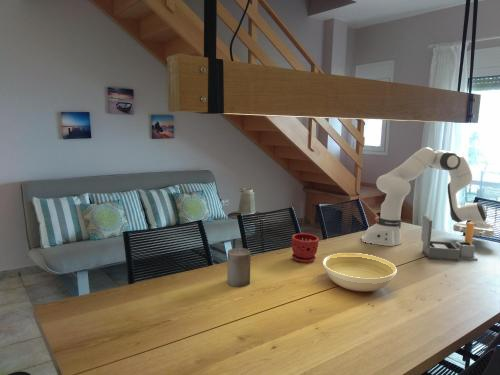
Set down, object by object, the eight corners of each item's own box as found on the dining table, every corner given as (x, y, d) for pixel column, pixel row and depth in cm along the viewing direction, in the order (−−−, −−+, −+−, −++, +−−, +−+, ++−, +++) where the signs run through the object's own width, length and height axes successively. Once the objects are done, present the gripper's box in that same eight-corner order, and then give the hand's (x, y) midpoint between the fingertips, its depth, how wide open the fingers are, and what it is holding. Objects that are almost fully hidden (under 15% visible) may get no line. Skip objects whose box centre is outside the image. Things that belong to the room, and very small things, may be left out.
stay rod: (464, 252, 208) (467, 223, 206) (462, 250, 212) (465, 222, 209) (472, 252, 207) (475, 224, 205) (469, 250, 211) (472, 222, 209)
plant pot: (289, 263, 186) (290, 239, 185) (293, 254, 199) (293, 232, 197) (316, 265, 183) (317, 241, 182) (318, 257, 196) (319, 234, 194)
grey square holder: (456, 258, 197) (457, 245, 196) (450, 252, 207) (451, 240, 206) (477, 260, 195) (478, 247, 194) (470, 254, 205) (471, 241, 204)
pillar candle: (252, 279, 165) (253, 246, 163) (246, 288, 156) (247, 253, 153) (231, 277, 167) (231, 243, 165) (223, 285, 158) (224, 250, 156)
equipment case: (426, 258, 196) (429, 220, 193) (420, 250, 210) (423, 214, 207) (458, 261, 193) (462, 222, 190) (450, 252, 207) (453, 216, 204)
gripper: (456, 219, 230) (451, 223, 219) (496, 225, 217) (492, 230, 207) (455, 229, 231) (449, 234, 220) (494, 236, 218) (491, 241, 208)
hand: (471, 232), depth 213 cm, fingers open, 8 cm apart
